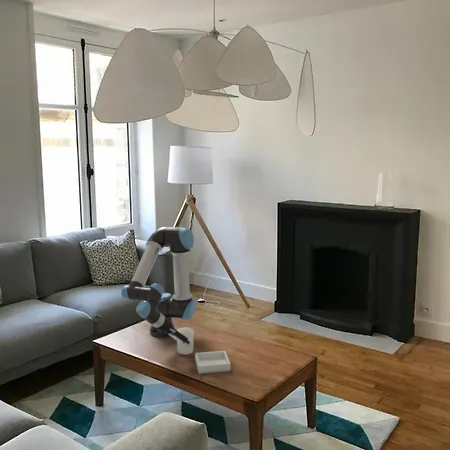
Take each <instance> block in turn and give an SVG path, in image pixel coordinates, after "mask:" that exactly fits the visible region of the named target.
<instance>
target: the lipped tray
mask: <svg viewBox="0 0 450 450" xmlns="http://www.w3.org/2000/svg"><path fill="white" fill-rule="evenodd" d="M226 351H227V350H220V351H219V350H217V351H205V352H204V351H203V352H195V353H194V361H195V364H196V365H195V366H196V369H197V372H198V373H197V374H199V375H203V374H205V375H206V374H215V373H229V372H232V371H231V366H232V365H231V364H232V363H231V361H230V360H229V357H228V354H227V352H226Z"/></svg>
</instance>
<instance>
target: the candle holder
mask: <svg viewBox="0 0 450 450" xmlns="http://www.w3.org/2000/svg"><path fill="white" fill-rule="evenodd" d="M176 330H177V331H178V332H180V333H181V334H182V335H184V336H185V337H187V338H188V340H189V341H191V342H192V343H193V345H192V347H191V348H190V347H188V346H187V345H186V344H185V343H183V341H181V340H180V339H179V338H177V340H176V346H177V347H176V348H177V353H178V354H179V355H184V356H186V355H191V354H192V353H193V352H194V339H195V337H194V336H195V334H194V333H195V330H194V328H192V327H188V326H187V327H185V326H184V327H179V328H177V329H176Z"/></svg>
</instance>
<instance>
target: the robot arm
mask: <svg viewBox="0 0 450 450" xmlns="http://www.w3.org/2000/svg"><path fill="white" fill-rule="evenodd" d="M194 243H195V238H194V233H193V231H192V230H191V229H190V228H187V227H183V226H182V227H180V226H179V227H178V226H162V227H159V228H157V230H155V231H154V232H152V234H151V235H150V236H149V237H148V239H147V241H146V242H145V247H146V248H145V250H144V251H143V253H142V256H141V258H140V261H139V263H138V265H137V267H136V268H135V269H136V270H135V271H134V273H133V276H132V279H131V281H130V282H129V284H127V285H123V287H122V289H121V292H120V293H121V297H122V299H124V300H128V301H135V302H136V301H137V302H139V303H138V305H137V306H136V308H135V311H136V313H137V314H138V315H139V316H140V317H141V318H142V319H144V320H145V321H146V322H148V323H149V324H150V327H149V335H151V336H153V337H157V338H158V337H159V338H165V337H166V338H167V337H171V338H173V339H174V340H175V341H177V338H179V339H180V340H181V341H183V343H185V344H186V345H187V346H188V347H190V348H191V347H192V345H193V346H194V342H193V343H192V342H191V341H189V340H188V338H187V337H185V336H184V335H182V334H181V333H180V332H178V331H177V329H176V327H175V324H174V321H173V318H175V319H181V320H191V319H192V318H193V317H194V316H195V313H196V310H197V305H198V304H197V300H195V299H194V298H193V295H192V293H191V292H190V274H189V273H190V270H189V253H190V252H191V249H193V248H194V245H195V244H194ZM164 248H169V252H170V253H171V255H172V266H173V285H174V293H173V295H172V294H171V293H170V292H169V293H168V292H164V291H165V289H164V287H163V285H161V284H159V283H156V282H154V283H152V284H151V285H150V286H149V287H146V286H145V284H146V283H147V280H148V278H149V275H150V274H151V271H152V269H153V267H154V264H155V262H156V260H157V258H158V255H159V253H161V252H162V251H163V250H164Z"/></svg>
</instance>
